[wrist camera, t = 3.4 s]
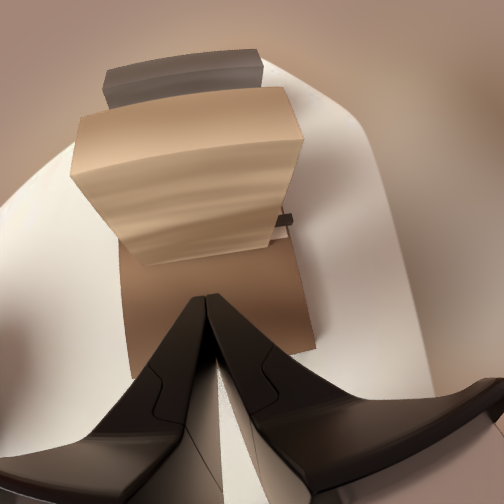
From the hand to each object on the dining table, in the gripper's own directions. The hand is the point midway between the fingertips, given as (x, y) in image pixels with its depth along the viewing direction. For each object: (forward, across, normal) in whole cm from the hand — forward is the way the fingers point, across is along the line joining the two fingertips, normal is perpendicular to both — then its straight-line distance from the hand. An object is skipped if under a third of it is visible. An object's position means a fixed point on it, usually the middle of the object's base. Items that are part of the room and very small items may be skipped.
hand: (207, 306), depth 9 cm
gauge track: (+10, 0, +2) cm, 10 cm away
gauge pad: (+8, -1, +1) cm, 8 cm away
